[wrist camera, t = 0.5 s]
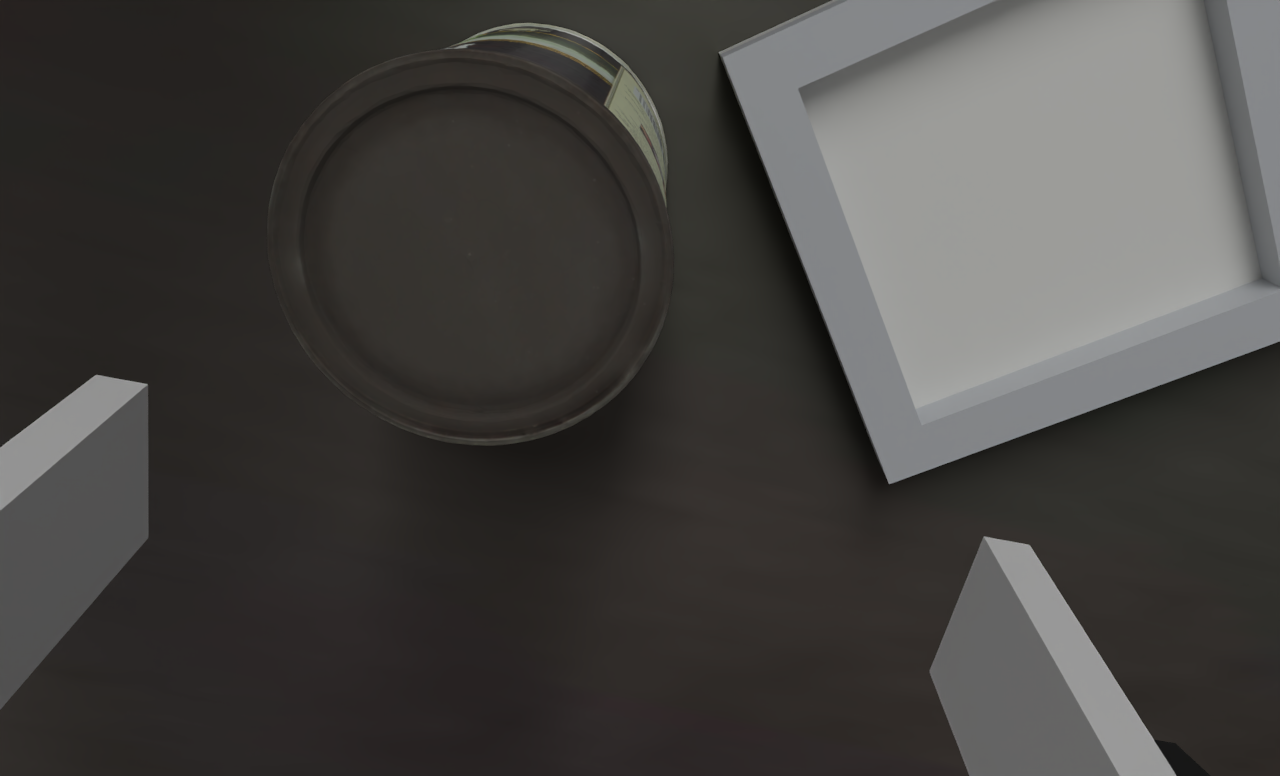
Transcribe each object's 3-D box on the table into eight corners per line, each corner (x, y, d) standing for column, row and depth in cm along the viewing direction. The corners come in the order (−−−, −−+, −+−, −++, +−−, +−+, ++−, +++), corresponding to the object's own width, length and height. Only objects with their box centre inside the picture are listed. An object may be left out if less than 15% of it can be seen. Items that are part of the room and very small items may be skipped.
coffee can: (345, 161, 38) (181, 257, 25) (531, -41, 35) (455, -53, 22) (538, 344, 41) (481, 517, 28) (724, 171, 38) (759, 272, 25)
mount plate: (718, 52, 36) (722, 57, 34) (1217, -177, 33) (1259, -189, 31) (876, 456, 42) (889, 484, 40) (1308, 296, 39) (1349, 315, 37)
